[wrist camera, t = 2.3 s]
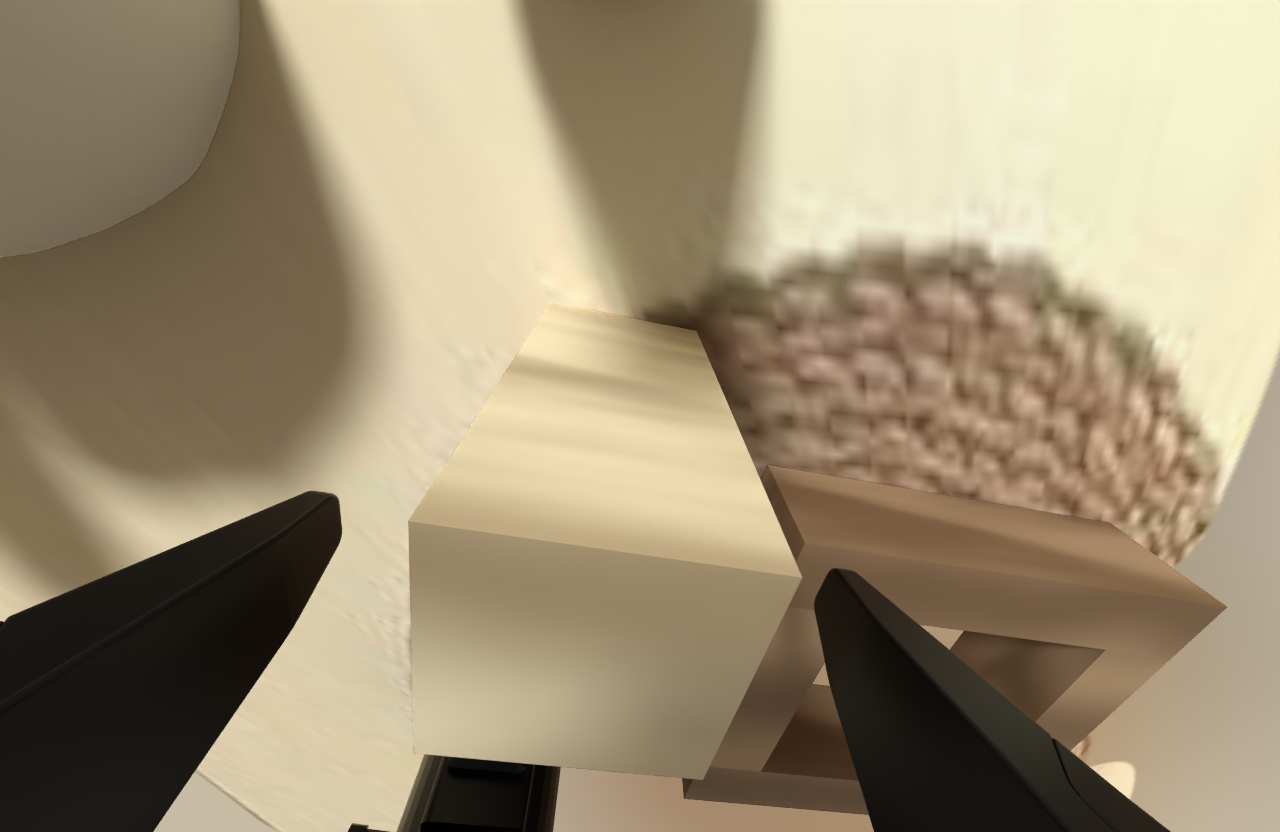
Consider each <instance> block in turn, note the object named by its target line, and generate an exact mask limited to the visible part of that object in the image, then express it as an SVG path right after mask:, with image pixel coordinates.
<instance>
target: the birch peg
mask: <svg viewBox="0 0 1280 832" xmlns="http://www.w3.org/2000/svg"><path fill="white" fill-rule="evenodd" d="M408 523H409V566H410V609H411V652H412V695H413V738H414V753H417V754H428V755H438V756H449V757H460V758H471V759H482V760H493V761H503V762H514V763H525V764H536V765H547V766H557V767H568V768H579V769H590V770H601V771H612V772H622V773H633V774H645V775H655V776H666V777H677V778H687V779H698V780H703V779H704V777H705V775H706V773H707V770H708V768H709V766H710V764H711V762H712V760H713V758H714V756H715V754H716V752H717V750H718V748H719V746H720V744H721V742H722V740H723V738H724V736H725V734H726V732H727V730H728V728H729V726H730V724H731V722H732V720H733V718H734V716H735V714H736V712H737V709H738V707H739V705H740V703H741V701H742V699H743V697H744V695H745V693H746V691H747V689H748V687H749V685H750V683H751V681H752V679H753V677H754V675H755V673H756V671H757V669H758V667H759V665H760V663H761V661H762V659H763V657H764V655H765V653H766V651H767V648H768V646H769V644H770V642H771V640H772V638H773V636H774V634H775V632H776V630H777V628H778V626H779V624H780V622H781V620H782V618H783V616H784V614H785V612H786V610H787V608H788V606H789V604H790V602H791V600H792V598H793V596H794V594H795V592H796V590H797V587H798V585H799V583H800V581H801V579H802V576H801V573H800V571H799V569H798V566H797V564H796V562H795V559H794V557H793V555H792V552H791V550H790V548H789V545H788V543H787V541H786V538H785V536H784V534H783V531H782V529H781V527H780V524H779V522H778V520H777V517H776V515H775V513H774V510H773V508H772V506H771V503H770V501H769V499H768V496H767V494H766V492H765V489H764V487H763V485H762V482H761V480H760V478H759V475H758V473H757V471H756V468H755V466H754V464H753V461H752V459H751V457H750V454H749V452H748V450H747V447H746V445H745V443H744V440H743V438H742V436H741V433H740V431H739V429H738V427H737V424H736V422H735V420H734V417H733V415H732V413H731V410H730V408H729V406H728V403H727V401H726V399H725V396H724V394H723V392H722V389H721V387H720V385H719V382H718V380H717V378H716V375H715V373H714V371H713V368H712V366H711V364H710V361H709V359H708V357H707V354H706V352H705V350H704V347H703V345H702V343H701V340H700V338H699V336H698V333H697V331H694V330H689V329H684V328H679V327H674V326H669V325H664V324H659V323H654V322H649V321H644V320H639V319H634V318H628V317H623V316H618V315H613V314H608V313H603V312H598V311H593V310H588V309H583V308H578V307H573V306H568V305H563V304H558V303H553V302H551V303H550V304H549V306H548V307H547V309H546V311H545V312H544V314H543V315H542V317H541V318H540V320H539V321H538V323H537V324H536V326H535V327H534V329H533V331H532V332H531V334H530V335H529V337H528V338H527V340H526V341H525V343H524V344H523V346H522V347H521V349H520V351H519V352H518V354H517V355H516V357H515V358H514V360H513V361H512V363H511V364H510V366H509V367H508V369H507V370H506V372H505V374H504V375H503V377H502V378H501V380H500V381H499V383H498V384H497V386H496V387H495V389H494V390H493V392H492V394H491V395H490V397H489V398H488V400H487V401H486V403H485V404H484V406H483V407H482V409H481V410H480V412H479V414H478V415H477V417H476V418H475V420H474V421H473V423H472V424H471V426H470V427H469V429H468V430H467V432H466V433H465V435H464V437H463V438H462V440H461V441H460V443H459V444H458V446H457V447H456V449H455V450H454V452H453V453H452V455H451V457H450V458H449V460H448V461H447V463H446V464H445V466H444V467H443V469H442V470H441V472H440V473H439V475H438V477H437V478H436V480H435V481H434V483H433V484H432V486H431V487H430V489H429V490H428V492H427V493H426V495H425V497H424V498H423V500H422V501H421V503H420V504H419V506H418V507H417V509H416V510H415V512H414V513H413V515H412V516H411V518H410V520H409V521H408Z"/></svg>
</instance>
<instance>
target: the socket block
mask: <svg viewBox="0 0 1280 832" xmlns="http://www.w3.org/2000/svg"><path fill="white" fill-rule="evenodd" d="M761 482H762V485H763V487H764V489H765V492H766V494H767V496H768V499H769V501H770V503H771V506H772V508H773V510H774V513H775V515H776V517H777V520H778V522H779V524H780V527H781V529H782V531H783V534H784V536H785V538H786V541H787V543H788V545H789V548H790V550H791V552H792V555H793V557H794V559H795V562H796V564H797V566H798V569H799V571H800V573H801V576H802V579H801V581H800V583H799V585H798V587H797V590H796V592H795V594H794V596H793V598H792V600H791V602H790V604H789V606H788V608H787V610H786V612H785V614H784V616H783V618H782V620H781V622H780V624H779V626H778V628H777V630H776V632H775V634H774V636H773V638H772V640H771V642H770V644H769V646H768V648H767V651H766V653H765V655H764V657H763V659H762V661H761V663H760V665H759V667H758V669H757V671H756V673H755V675H754V677H753V679H752V681H751V683H750V685H749V687H748V689H747V691H746V693H745V695H744V697H743V699H742V701H741V703H740V705H739V707H738V709H737V712H736V714H735V716H734V718H733V720H732V722H731V724H730V726H729V728H728V730H727V732H726V734H725V736H724V738H723V740H722V742H721V744H720V746H719V748H718V750H717V752H716V754H715V756H714V758H713V760H712V762H711V764H710V766H709V768H708V770H707V773H706V775H705V777H704V779H703V780H698V779H687V778H682V779H683V780H682V781H683V792H684V799H694V800H705V801H716V802H728V803H740V804H752V805H762V806H774V807H785V808H796V809H808V810H819V811H831V812H842V813H854V814H865V815H869V813H868V810H867V807H866V804H865V800H864V797H863V794H862V791H861V787H860V784H859V781H858V777H857V774H856V771H855V768H854V764H853V761H852V758H851V755H850V751H849V748H848V745H847V742H846V738H845V735H844V732H843V729H842V725H841V722H840V719H839V716H838V712H837V709H836V706H835V702H834V699H833V695H832V692H831V688H830V686H824V685H815V684H812V683H813V681H814V679H815V678H816V676H817V675H818V673H819V671H820V669H821V668H822V666H823V664H824V663H825V660H824V655H823V650H822V646H821V641H820V636H819V631H818V626H817V621H816V616H815V611H814V601H815V597H816V595H817V593H818V591H819V589H820V587H821V585H822V583H823V581H824V579H825V577H826V575H827V574H828V572H829V571H830V570H831V569H832V568H842V569H848V570H853V571H855V572H856V573H858V574H859V575H860V576H861V577H863V578H864V579H865V580H866V581H867V582H869V583H870V584H871V585H872V586H873V587H875V588H876V589H877V590H878V591H879V592H880V593H882V594H883V595H884V596H885V597H886V598H888V599H889V600H890V601H891V602H892V603H894V604H895V605H896V606H897V607H898V608H900V609H901V610H902V611H903V612H904V613H906V614H907V615H908V616H909V617H910V618H912V619H913V620H914V621H915V622H916V623H918V624H919V625H927V626H934V627H941V628H949V629H956V630H964V632H963V633H962V634H961V636H960V637H959V638H958V640H957V641H956V642H955V644H954V645H953V646H952V648H951V649H950V651H951V652H952V653H954V654H955V655H956V656H957V657H958V658H960V659H961V660H962V661H963V662H964V663H965V664H967V665H968V666H969V667H970V668H971V669H973V670H974V671H975V672H976V673H977V674H979V675H980V676H981V677H982V678H983V679H985V680H986V681H987V682H988V683H989V684H991V685H992V686H993V687H994V688H995V689H997V690H998V691H999V692H1000V693H1001V694H1003V695H1004V696H1005V697H1006V698H1007V699H1009V700H1010V701H1011V702H1012V703H1013V704H1015V705H1016V706H1017V707H1018V708H1019V709H1021V710H1022V711H1023V712H1024V713H1025V714H1027V715H1028V716H1029V717H1030V718H1031V719H1033V720H1034V721H1035V722H1036V723H1037V724H1039V725H1040V726H1041V727H1042V728H1043V729H1045V730H1046V731H1047V732H1048V733H1049V734H1050V735H1051V738H1054V739H1057V740H1058V741H1059V742H1060V743H1061V744H1063V745H1064V746H1065V747H1066V748H1067V749H1069V750H1070V751H1071V750H1072V749H1073V748H1074V747H1075V746H1076V745H1077V744H1078V743H1080V742H1081V741H1082V740H1083V739H1084V738H1085V737H1086V736H1087V735H1088V734H1089V733H1090V732H1091V731H1093V730H1094V729H1095V728H1096V727H1097V726H1098V725H1099V724H1100V723H1101V722H1102V721H1103V720H1105V719H1106V718H1107V717H1108V716H1109V715H1110V714H1111V713H1112V712H1113V711H1114V710H1116V709H1117V708H1118V707H1119V706H1120V705H1121V704H1122V703H1123V702H1124V701H1125V700H1126V699H1128V697H1130V696H1131V695H1132V694H1133V693H1134V692H1135V691H1136V690H1137V689H1138V688H1140V687H1141V685H1143V684H1144V683H1145V682H1146V681H1147V680H1148V679H1149V678H1150V677H1152V675H1154V674H1155V673H1156V672H1157V671H1158V670H1159V669H1160V668H1161V667H1162V666H1164V665H1165V664H1166V663H1167V662H1168V661H1169V660H1170V659H1171V658H1172V657H1173V656H1174V655H1176V654H1177V653H1178V652H1179V651H1180V650H1181V649H1182V648H1183V647H1184V646H1185V645H1186V644H1187V643H1188V642H1190V641H1191V640H1192V639H1193V638H1194V637H1195V636H1196V635H1197V634H1198V633H1200V632H1201V631H1202V630H1203V629H1204V628H1205V627H1206V626H1207V625H1208V624H1209V623H1210V622H1211V621H1213V620H1214V619H1215V618H1216V617H1217V616H1218V615H1219V614H1220V613H1221V612H1222V611H1224V610H1225V609H1226V608H1227V607H1226V606H1225V605H1224V604H1222V603H1221V602H1220V601H1218V600H1217V599H1215V598H1214V597H1213V596H1211V595H1210V594H1208V593H1207V592H1206V591H1204V590H1203V589H1201V588H1200V587H1198V586H1197V585H1196V584H1194V583H1193V582H1192V581H1190V580H1189V579H1188V578H1186V577H1185V576H1183V575H1182V574H1181V573H1179V572H1178V571H1176V570H1175V569H1174V568H1172V567H1171V566H1169V565H1168V564H1167V563H1165V562H1164V561H1162V560H1161V559H1160V558H1158V557H1157V556H1155V555H1154V554H1153V553H1151V552H1150V551H1149V550H1147V549H1146V548H1144V547H1143V546H1142V545H1140V544H1139V543H1137V542H1136V541H1135V540H1133V539H1132V538H1130V537H1129V536H1128V535H1126V534H1125V533H1123V532H1122V531H1121V530H1119V529H1118V528H1117V527H1115V526H1114V525H1112V524H1111V523H1108V522H1102V521H1096V520H1090V519H1084V518H1078V517H1072V516H1067V515H1061V514H1055V513H1049V512H1043V511H1037V510H1031V509H1025V508H1019V507H1013V506H1007V505H1001V504H996V503H990V502H984V501H978V500H972V499H966V498H960V497H954V496H948V495H942V494H936V493H930V492H925V491H919V490H913V489H907V488H901V487H895V486H889V485H883V484H877V483H871V482H865V481H860V480H854V479H848V478H842V477H836V476H830V475H824V474H818V473H812V472H806V471H800V470H794V469H789V468H783V467H777V466H771V465H768V466H767V468H766V471H765V474H764V476H763V479H762V481H761Z"/></svg>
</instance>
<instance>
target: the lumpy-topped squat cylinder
mask: <svg viewBox="0 0 1280 832" xmlns="http://www.w3.org/2000/svg"><path fill="white" fill-rule="evenodd" d="M239 40H240V1H239V0H0V257H8V256H16V255H24V254H31V253H36V252H40V251H44V250H48V249H51V248H54V247H57V246H60V245H63V244H66V243H68V242H71V241H74V240H78V239H81V238H84V237H87V236H90V235H92V234H95V233H98V232H100V231H103V230H105V229H107V228H110V227H112V226H114V225H116V224H118V223H120V222H122V221H124V220H126V219H128V218H130V217H132V216H134V215H136V214H138V213H139V212H141V211H143V210H145V209H147V208H148V207H150V206H152V205H153V204H155V203H157V202H158V201H160V200H161V199H163V198H165V197H166V196H168V195H169V194H170V193H172V192H173V191H175V190H176V189H177V188H179V187H180V186H181V185H183V184H184V183H185V182H186V181H187V180H188V179H189V178H190V177H191V176H192V175H193V174H194V173H195V172H196V171H197V169H198V168H199V167H200V165H201V163H202V162H203V160H204V158H205V156H206V154H207V152H208V150H209V147H210V145H211V143H212V140H213V138H214V135H215V133H216V130H217V128H218V125H219V122H220V119H221V116H222V114H223V111H224V108H225V105H226V101H227V98H228V95H229V91H230V88H231V84H232V80H233V76H234V72H235V67H236V62H237V57H238V50H239Z"/></svg>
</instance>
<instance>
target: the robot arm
mask: <svg viewBox="0 0 1280 832" xmlns="http://www.w3.org/2000/svg"><path fill="white" fill-rule="evenodd" d="M341 536H342V524H341V514H340V504H339V499H338V497H337V496H336V495H334V494H332V493H325V492H319V491H308V492H305V493H303V494H300V495H298V496H295V497H293V498H291V499H288V500H286V501H284V502H281V503H279V504H276V505H274V506H272V507H269V508H267V509H264V510H262V511H260V512H257V513H255V514H253V515H250V516H248V517H245V518H243V519H241V520H238V521H236V522H233V523H231V524H229V525H226V526H224V527H222V528H219V529H217V530H214V531H212V532H210V533H207V534H205V535H202V536H200V537H198V538H195V539H193V540H191V541H188V542H186V543H183V544H181V545H179V546H176V547H174V548H171V549H169V550H167V551H164V552H162V553H160V554H157V555H155V556H152V557H150V558H148V559H145V560H143V561H140V562H138V563H136V564H133V565H131V566H128V567H126V568H124V569H121V570H119V571H117V572H114V573H112V574H109V575H107V576H105V577H102V578H100V579H97V580H95V581H93V582H90V583H88V584H85V585H83V586H81V587H78V588H76V589H74V590H71V591H69V592H66V593H64V594H62V595H59V596H57V597H54V598H52V599H50V600H47V601H45V602H42V603H40V604H38V605H35V606H33V607H31V608H28V609H26V610H23V611H21V612H19V613H16V614H14V615H11V616H10V617H8V618H7V619H6V620H5V622H3V621H0V832H153V831H154V830H155V828H156V827H157V825H158V824H159V822H160V821H161V820H162V818H163V816H164V815H165V814H166V812H167V811H168V809H169V808H170V806H171V805H172V803H173V802H174V800H175V799H176V798H177V796H178V795H179V793H180V792H181V790H182V789H183V788H184V786H185V785H186V783H187V782H188V780H189V779H190V777H191V776H192V774H193V773H194V772H195V770H196V769H197V767H198V766H199V764H200V763H201V761H202V760H203V758H204V757H205V756H206V754H207V753H208V751H209V750H210V748H211V747H212V745H213V744H214V743H215V741H216V740H217V738H218V737H219V735H220V734H221V732H222V731H223V729H224V728H225V727H226V725H227V724H228V722H229V721H230V719H231V718H232V716H233V715H234V713H235V712H236V711H237V709H238V708H239V706H240V705H241V703H242V702H243V700H244V699H245V697H246V696H247V695H248V693H249V692H250V690H251V689H252V687H253V686H254V684H255V683H256V681H257V680H258V679H259V677H260V676H261V674H262V673H263V671H264V670H265V668H266V667H267V665H268V664H269V663H270V661H271V660H272V658H273V657H274V655H275V654H276V652H277V651H278V649H279V648H280V647H281V645H282V644H283V642H284V641H285V639H286V638H287V636H288V635H289V633H290V632H291V630H292V628H293V627H294V625H295V623H296V622H297V620H298V618H299V617H300V615H301V613H302V611H303V609H304V608H305V606H306V604H307V602H308V600H309V598H310V597H311V595H312V593H313V591H314V589H315V587H316V586H317V584H318V582H319V580H320V578H321V576H322V575H323V573H324V571H325V569H326V567H327V565H328V564H329V562H330V560H331V558H332V556H333V554H334V553H335V551H336V549H337V547H338V545H339V543H340V540H341ZM814 611H815V616H816V621H817V626H818V631H819V636H820V641H821V646H822V650H823V655H824V660H825V665H826V670H827V675H828V679H829V684H830V688H831V692H832V695H833V699H834V702H835V706H836V709H837V712H838V716H839V719H840V722H841V725H842V729H843V732H844V735H845V738H846V742H847V745H848V748H849V751H850V755H851V758H852V761H853V764H854V768H855V771H856V774H857V777H858V781H859V784H860V787H861V791H862V794H863V797H864V800H865V804H866V807H867V810H868V813H869V817H870V820H871V823H872V826H873V830H874V832H1170V831H1169V830H1168V829H1167V828H1165V827H1164V826H1163V825H1161V824H1160V823H1159V822H1157V821H1156V820H1155V819H1154V818H1153V817H1151V816H1150V815H1149V814H1147V813H1146V812H1145V811H1143V810H1142V809H1141V808H1140V807H1138V806H1137V805H1136V804H1135V803H1133V802H1132V801H1131V800H1130V799H1128V798H1127V797H1126V796H1124V795H1123V794H1122V793H1121V792H1120V791H1118V790H1117V789H1116V788H1115V787H1113V786H1112V785H1111V784H1110V783H1109V782H1107V781H1106V780H1105V779H1104V778H1102V777H1101V776H1100V775H1099V774H1098V773H1096V772H1095V771H1094V770H1093V769H1091V768H1090V767H1089V766H1088V765H1086V764H1085V763H1084V762H1083V761H1082V760H1080V759H1079V758H1078V757H1077V756H1076V755H1075V754H1073V753H1072V752H1071V751H1070V750H1069V749H1067V748H1066V747H1065V746H1064V745H1063V744H1061V743H1060V742H1059V741H1058V740H1057V739H1054V738H1051V735H1050V734H1049V733H1048V732H1047V731H1046V730H1045V729H1043V728H1042V727H1041V726H1040V725H1039V724H1037V723H1036V722H1035V721H1034V720H1033V719H1031V718H1030V717H1029V716H1028V715H1027V714H1025V713H1024V712H1023V711H1022V710H1021V709H1019V708H1018V707H1017V706H1016V705H1015V704H1013V703H1012V702H1011V701H1010V700H1009V699H1007V698H1006V697H1005V696H1004V695H1003V694H1001V693H1000V692H999V691H998V690H997V689H995V688H994V687H993V686H992V685H991V684H989V683H988V682H987V681H986V680H985V679H983V678H982V677H981V676H980V675H979V674H977V673H976V672H975V671H974V670H973V669H971V668H970V667H969V666H968V665H967V664H965V663H964V662H963V661H962V660H961V659H960V658H958V657H957V656H956V655H955V654H954V653H952V652H951V651H950V650H949V649H948V648H946V647H945V646H944V645H943V644H942V643H940V642H939V641H938V640H937V639H936V638H934V637H933V636H932V635H931V634H930V633H928V632H927V631H926V630H925V629H923V628H922V627H921V626H920V625H919V624H918V623H916V622H915V621H914V620H913V619H912V618H910V617H909V616H908V615H907V614H906V613H904V612H903V611H902V610H901V609H900V608H898V607H897V606H896V605H895V604H894V603H892V602H891V601H890V600H889V599H888V598H886V597H885V596H884V595H883V594H882V593H880V592H879V591H878V590H877V589H876V588H875V587H873V586H872V585H871V584H870V583H869V582H867V581H866V580H865V579H864V578H863V577H861V576H860V575H859V574H858V573H856V572H855V571H853V570H848V569H842V568H832V569H831V570H830V571H829V572H828V574H827V575H826V577H825V579H824V581H823V583H822V585H821V587H820V589H819V591H818V593H817V595H816V597H815V601H814ZM560 768H561V767H557V766H547V765H536V764H525V763H514V762H503V761H493V760H482V759H471V758H460V757H449V756H438V755H428V754H424V757H423V760H422V763H421V765H420V768H419V771H418V774H417V776H416V779H415V782H414V785H413V788H412V790H411V793H410V796H409V799H408V801H407V804H406V807H405V810H404V813H403V815H402V818H401V821H400V824H399V827H398V829H397V832H553V826H554V818H555V809H556V800H557V793H558V784H559V775H560ZM348 832H388V831H380V830H372V829H368V825H361V824H354V823H352V825H351V826H350V828H349V831H348Z"/></svg>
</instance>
